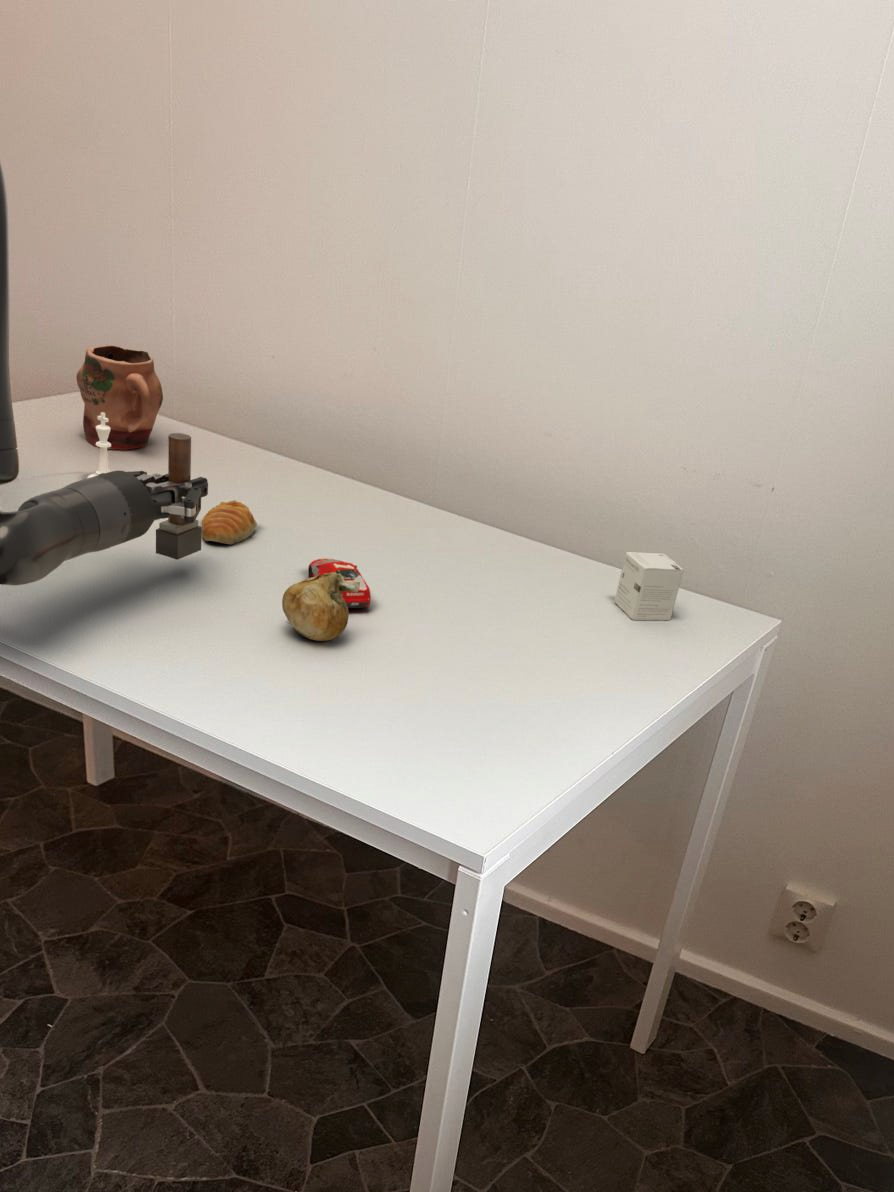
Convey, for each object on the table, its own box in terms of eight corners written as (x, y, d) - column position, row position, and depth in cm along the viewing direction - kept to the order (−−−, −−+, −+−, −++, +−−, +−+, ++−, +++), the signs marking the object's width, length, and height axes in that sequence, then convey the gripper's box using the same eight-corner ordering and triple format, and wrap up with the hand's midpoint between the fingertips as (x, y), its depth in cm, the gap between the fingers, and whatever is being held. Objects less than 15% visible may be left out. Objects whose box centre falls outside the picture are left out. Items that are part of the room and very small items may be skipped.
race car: (303, 574, 154) (305, 544, 151) (343, 574, 156) (346, 544, 154) (331, 614, 144) (334, 582, 141) (373, 614, 146) (377, 583, 144)
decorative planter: (189, 461, 186) (190, 369, 179) (117, 466, 179) (116, 370, 171) (126, 425, 198) (125, 337, 190) (56, 429, 190) (52, 337, 183)
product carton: (613, 602, 162) (624, 550, 158) (651, 603, 164) (664, 552, 160) (632, 620, 157) (644, 567, 153) (672, 621, 160) (685, 568, 156)
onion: (304, 616, 142) (309, 552, 137) (360, 637, 139) (367, 572, 135) (266, 634, 136) (270, 567, 132) (324, 656, 133) (330, 589, 129)
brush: (177, 560, 144) (178, 443, 136) (155, 553, 144) (155, 436, 137) (201, 550, 148) (203, 435, 140) (179, 543, 148) (181, 429, 141)
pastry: (239, 551, 157) (240, 523, 155) (189, 542, 157) (190, 514, 155) (258, 530, 165) (259, 503, 163) (210, 522, 165) (211, 494, 163)
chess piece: (104, 491, 169) (102, 419, 163) (79, 482, 170) (76, 410, 165) (129, 485, 172) (128, 415, 167) (104, 476, 174) (102, 406, 169)
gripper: (153, 494, 126) (243, 465, 140) (48, 462, 130) (146, 437, 144) (153, 562, 130) (241, 527, 144) (51, 529, 134) (146, 498, 148)
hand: (193, 482), depth 144 cm, fingers closed on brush, 2 cm apart
